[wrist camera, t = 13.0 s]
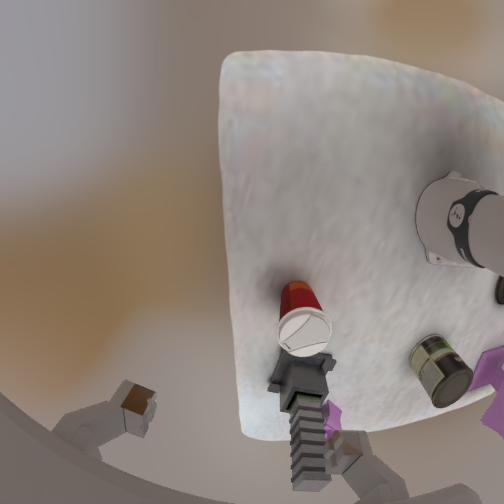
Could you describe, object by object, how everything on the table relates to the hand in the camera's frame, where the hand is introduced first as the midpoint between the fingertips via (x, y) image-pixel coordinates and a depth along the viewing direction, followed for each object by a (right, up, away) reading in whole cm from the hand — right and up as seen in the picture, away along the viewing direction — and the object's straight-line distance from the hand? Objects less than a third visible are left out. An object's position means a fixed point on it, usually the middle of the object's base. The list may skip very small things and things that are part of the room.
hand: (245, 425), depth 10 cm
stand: (+10, -17, +42) cm, 46 cm away
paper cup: (+8, 0, +38) cm, 39 cm away
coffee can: (+40, -16, +40) cm, 59 cm away
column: (+9, -19, +32) cm, 39 cm away
